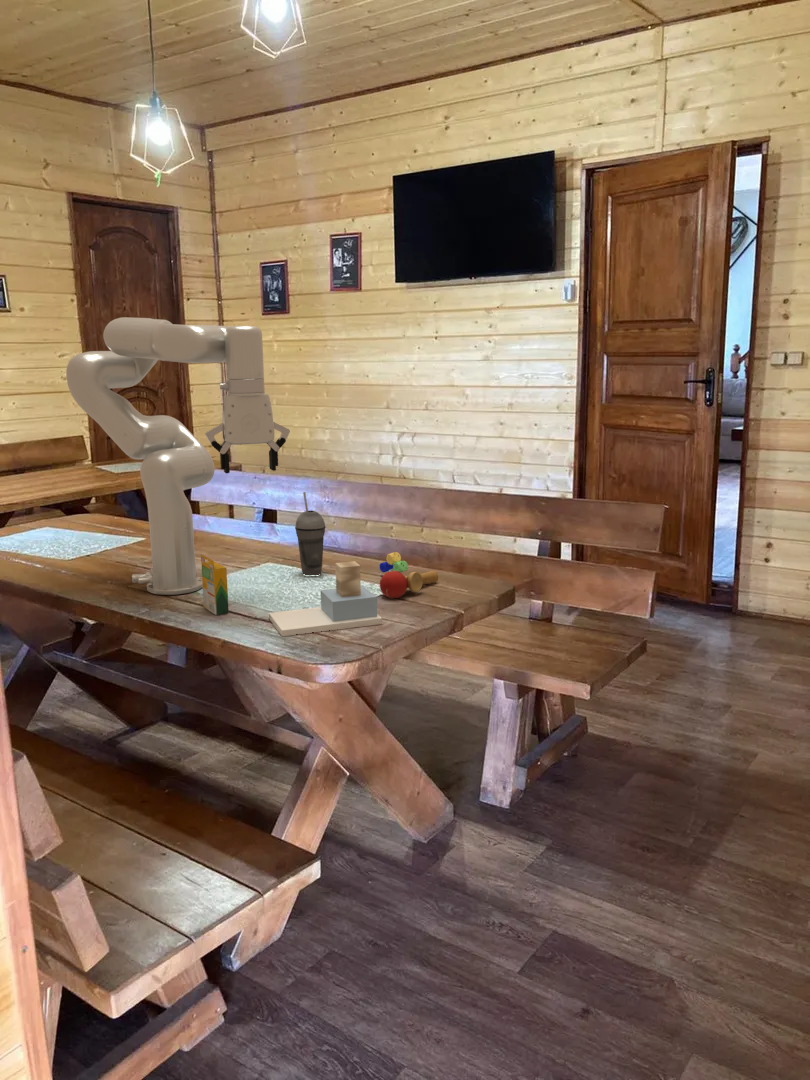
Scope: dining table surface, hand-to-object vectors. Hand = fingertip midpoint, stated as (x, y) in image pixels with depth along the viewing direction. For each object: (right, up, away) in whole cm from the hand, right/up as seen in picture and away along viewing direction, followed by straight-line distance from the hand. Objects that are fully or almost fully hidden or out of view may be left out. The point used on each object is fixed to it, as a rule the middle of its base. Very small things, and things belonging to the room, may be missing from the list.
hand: (250, 471), depth 182 cm
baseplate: (+16, -31, -8) cm, 36 cm away
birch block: (+21, -25, -7) cm, 33 cm away
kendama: (+33, -26, +14) cm, 45 cm away
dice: (+30, -24, +24) cm, 45 cm away
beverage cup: (+10, -23, +28) cm, 38 cm away
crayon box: (-7, -29, 0) cm, 30 cm away
